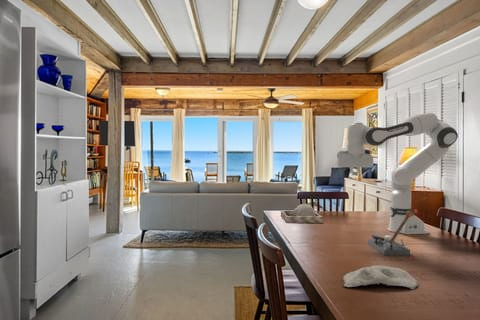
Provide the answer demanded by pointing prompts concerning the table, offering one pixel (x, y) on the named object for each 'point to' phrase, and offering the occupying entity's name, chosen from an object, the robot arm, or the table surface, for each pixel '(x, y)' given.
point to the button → (388, 238)
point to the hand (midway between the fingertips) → (354, 175)
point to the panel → (388, 247)
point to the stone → (379, 277)
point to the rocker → (377, 237)
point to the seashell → (304, 210)
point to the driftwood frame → (300, 218)
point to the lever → (408, 215)
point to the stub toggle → (403, 244)
